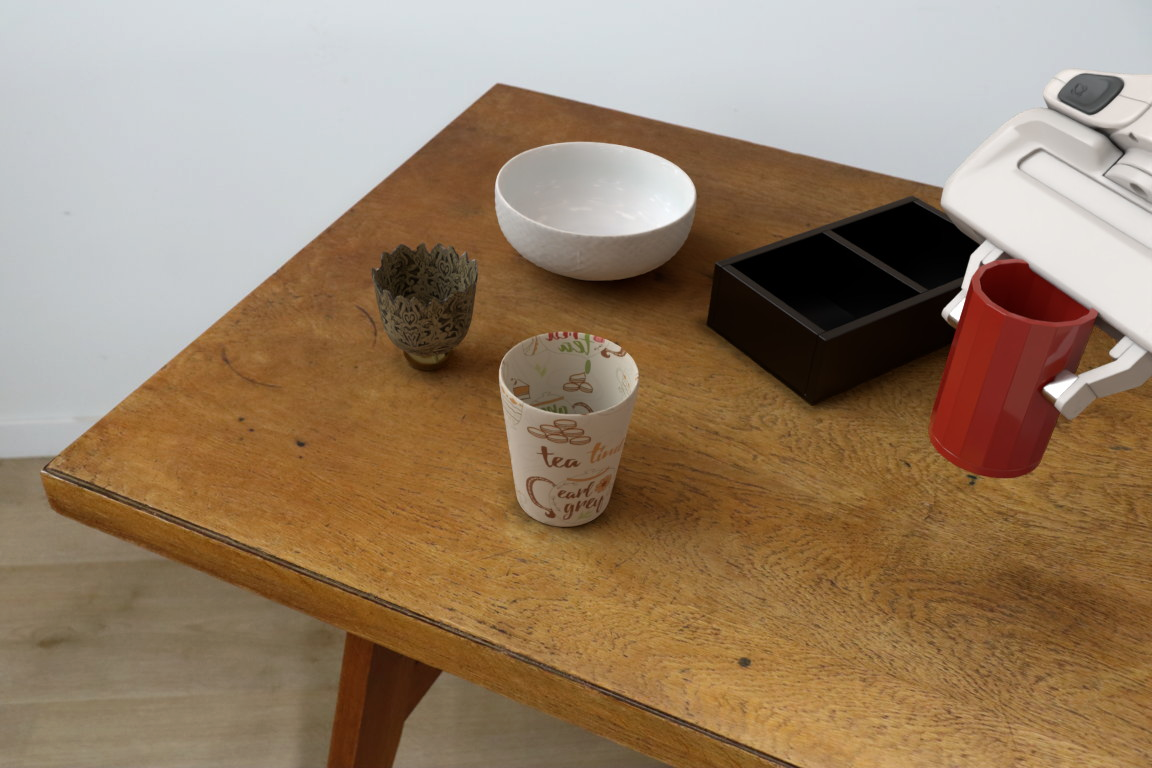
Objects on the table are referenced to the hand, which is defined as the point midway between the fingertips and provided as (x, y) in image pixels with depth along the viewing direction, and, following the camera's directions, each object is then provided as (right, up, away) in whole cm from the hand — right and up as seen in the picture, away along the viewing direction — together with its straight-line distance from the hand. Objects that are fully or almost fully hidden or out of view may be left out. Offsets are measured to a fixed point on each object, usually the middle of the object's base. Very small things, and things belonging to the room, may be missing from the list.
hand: (1001, 365), depth 59 cm
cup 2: (0, -4, +4) cm, 6 cm away
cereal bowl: (-21, +10, +37) cm, 44 cm away
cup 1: (-33, +1, +24) cm, 41 cm away
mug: (-23, -7, +15) cm, 28 cm away
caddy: (0, +4, +31) cm, 31 cm away
